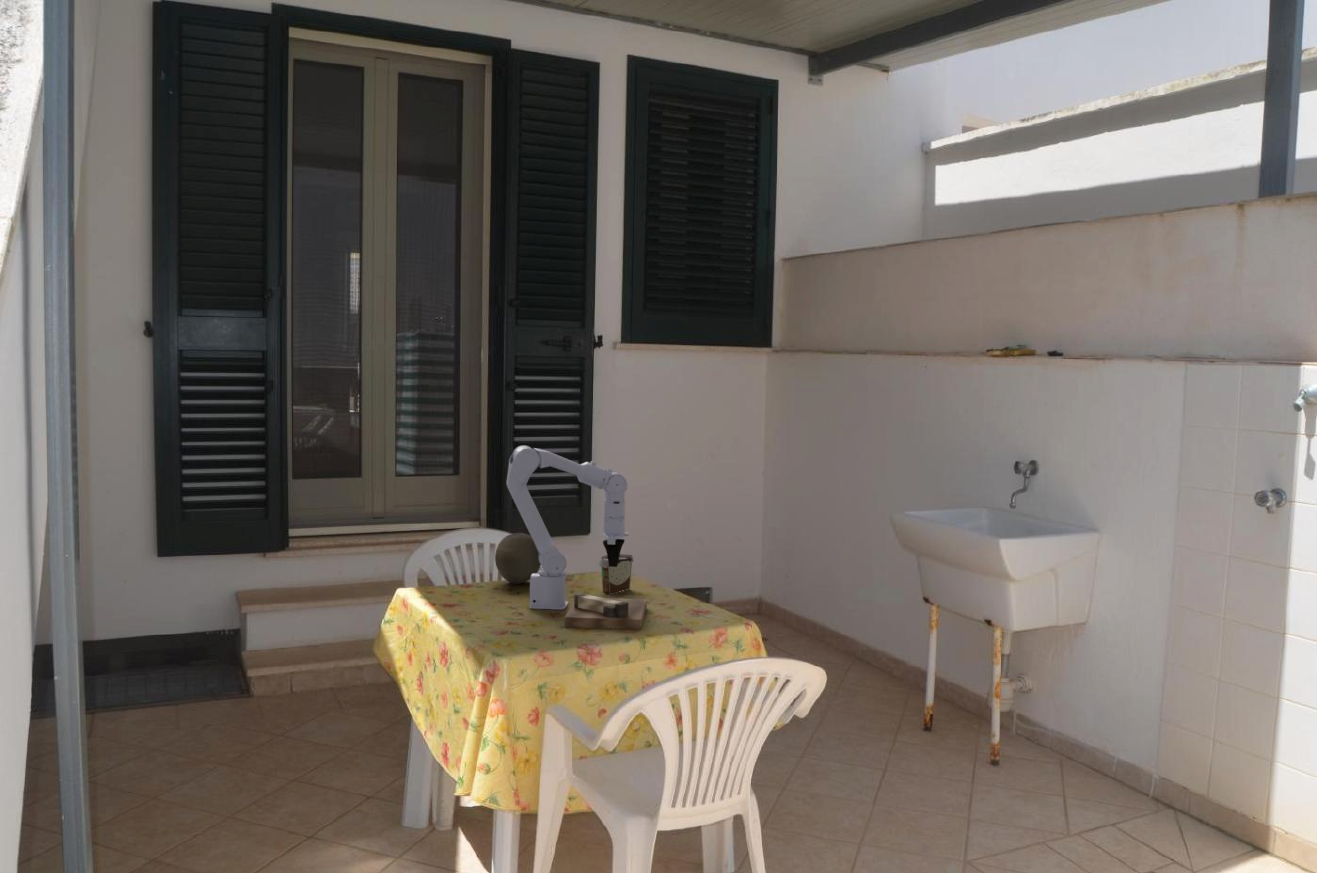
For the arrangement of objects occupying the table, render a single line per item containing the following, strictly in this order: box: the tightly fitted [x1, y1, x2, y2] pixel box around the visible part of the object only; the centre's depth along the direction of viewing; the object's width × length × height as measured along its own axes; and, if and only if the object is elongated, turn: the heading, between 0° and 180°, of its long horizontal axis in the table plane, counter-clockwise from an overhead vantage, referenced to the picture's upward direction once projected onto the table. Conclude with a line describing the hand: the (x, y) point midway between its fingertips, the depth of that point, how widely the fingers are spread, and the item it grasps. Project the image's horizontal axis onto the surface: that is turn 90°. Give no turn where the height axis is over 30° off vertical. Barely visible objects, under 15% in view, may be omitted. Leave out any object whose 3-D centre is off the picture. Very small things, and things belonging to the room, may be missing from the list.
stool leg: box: [573, 593, 628, 618], centre depth 271 cm, size 17×3×3 cm, turn 51°
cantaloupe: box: [494, 532, 542, 585], centre depth 312 cm, size 14×14×15 cm
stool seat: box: [564, 597, 648, 630], centre depth 275 cm, size 19×22×5 cm
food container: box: [598, 553, 634, 596], centre depth 306 cm, size 12×6×10 cm, turn 144°
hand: (613, 566), depth 289 cm, fingers closed
